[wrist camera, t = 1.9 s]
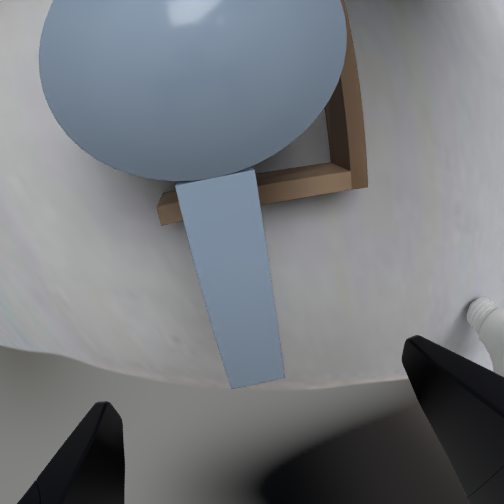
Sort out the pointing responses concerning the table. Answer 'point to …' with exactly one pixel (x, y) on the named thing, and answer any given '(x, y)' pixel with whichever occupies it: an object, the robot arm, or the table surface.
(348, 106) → the holder
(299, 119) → the blue scoop
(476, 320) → the lightbulb
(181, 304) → the table surface
